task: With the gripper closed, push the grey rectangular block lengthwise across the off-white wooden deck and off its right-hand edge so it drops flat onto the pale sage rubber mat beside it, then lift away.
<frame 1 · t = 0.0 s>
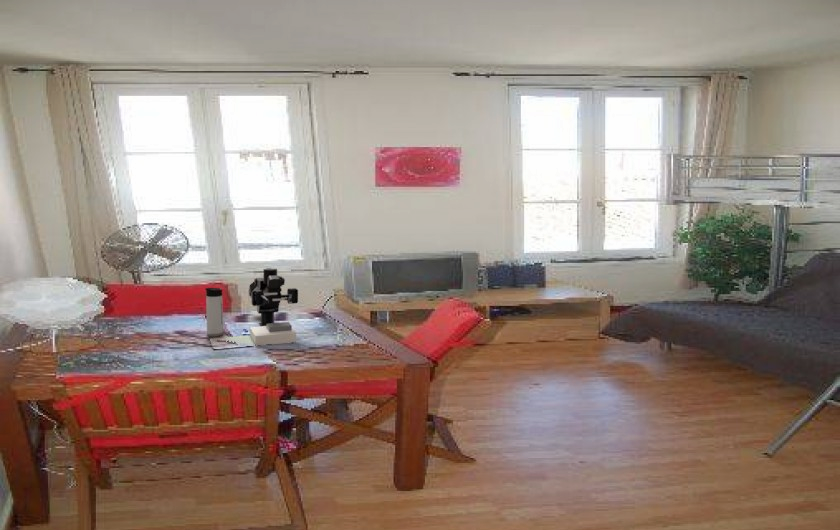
hand: (279, 301, 211), 17 cm above the table, tool horizontal, fingers open, 9 cm apart
mat: (231, 343, 208), on the table
grey rectangular block: (278, 329, 216), point 4 cm above the table, touching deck
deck: (272, 339, 215), on the table
travel mug: (214, 335, 219), on the table
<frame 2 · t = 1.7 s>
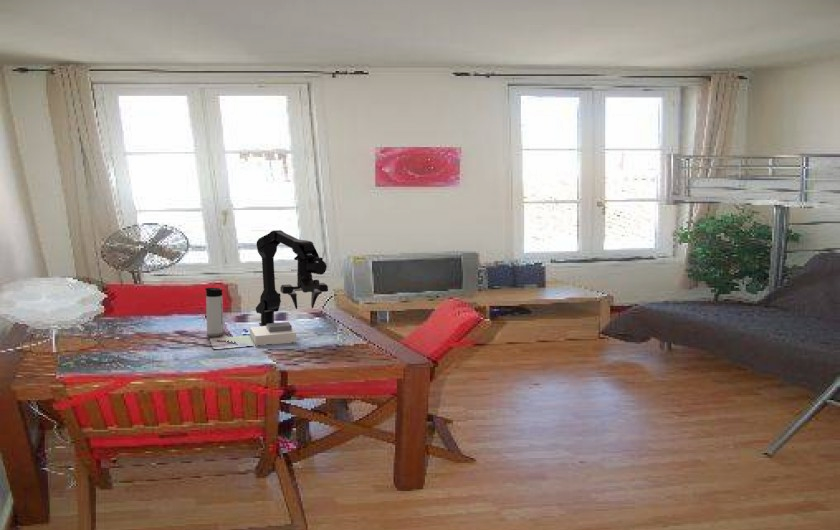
hand: (304, 308, 219), 12 cm above the table, tool pointing down, fingers open, 6 cm apart
nothing on the table moved.
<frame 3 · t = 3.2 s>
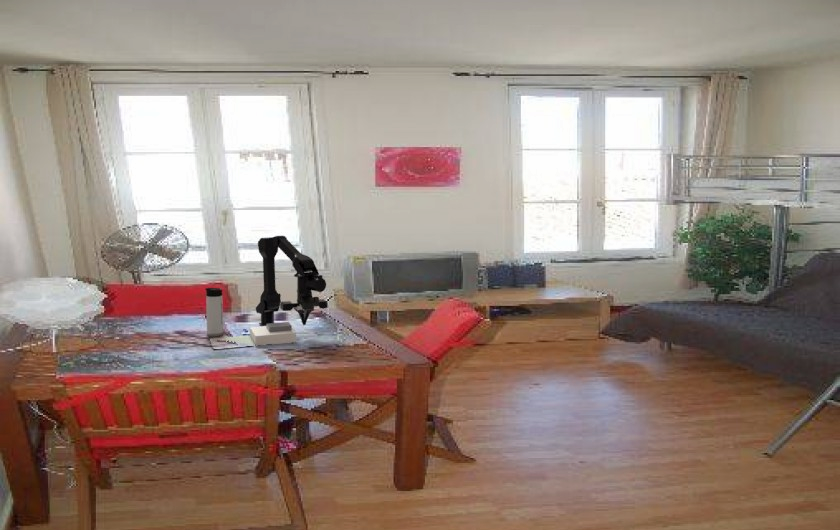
hand: (304, 324, 220), 5 cm above the table, tool pointing down, fingers closed
nothing on the table moved.
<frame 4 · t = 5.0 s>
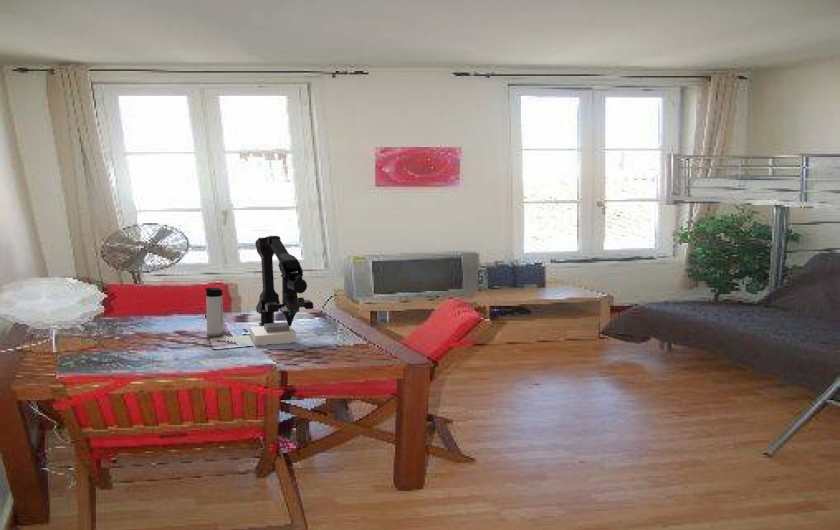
hand: (289, 326, 218), 5 cm above the table, tool pointing down, fingers closed
grey rectangular block: (276, 329, 215), point 4 cm above the table, touching gripper
everything else where it was.
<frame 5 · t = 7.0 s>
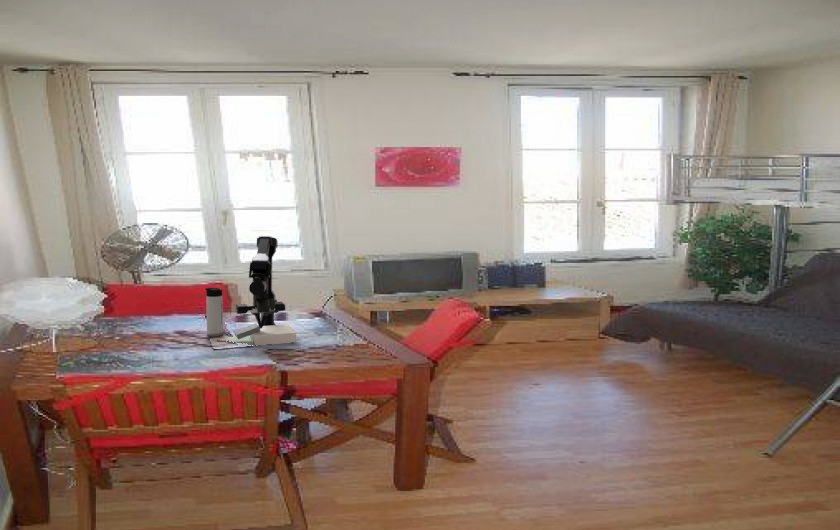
hand: (260, 328, 212), 5 cm above the table, tool pointing down, fingers closed
grey rectangular block: (247, 333, 210), point 3 cm above the table, tilted 16°, touching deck
everything else where it was.
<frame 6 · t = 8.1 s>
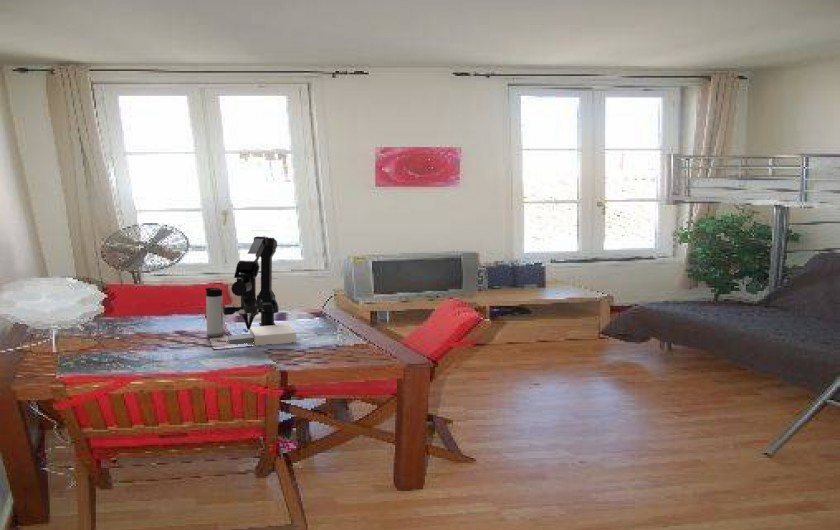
hand: (248, 329, 210), 5 cm above the table, tool pointing down, fingers closed
grey rectangular block: (240, 341, 209), resting on mat
everything else where it was.
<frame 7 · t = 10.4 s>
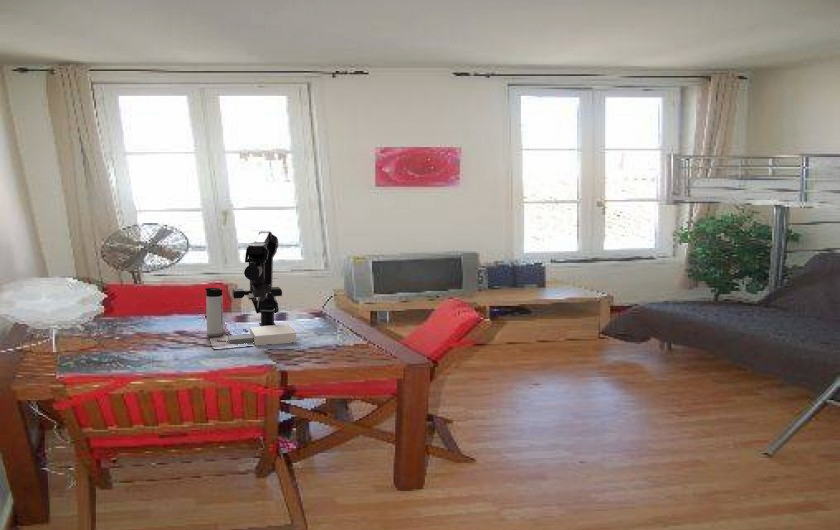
hand: (257, 313, 213), 11 cm above the table, tool pointing down, fingers closed
nothing on the table moved.
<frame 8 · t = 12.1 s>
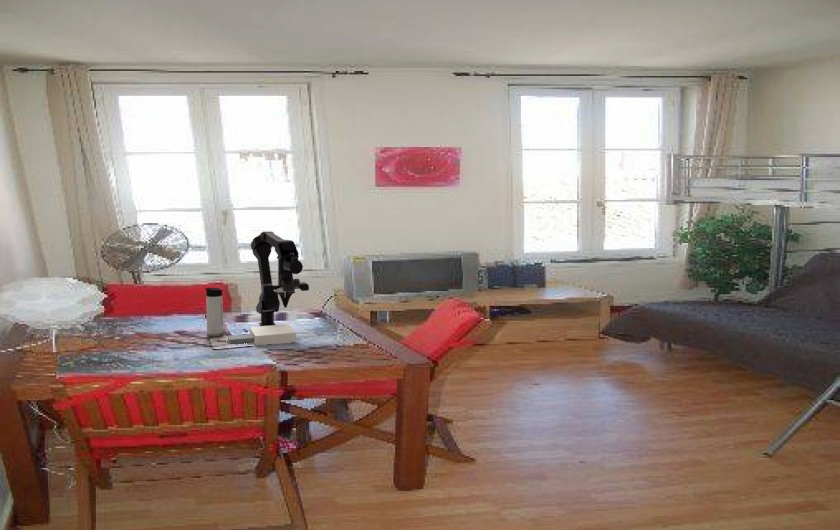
hand: (285, 307, 220), 12 cm above the table, tool pointing down, fingers closed
nothing on the table moved.
at the end: grey rectangular block resting on mat; grey rectangular block inside the target area (3.3 cm from its centre), resting on mat; grey rectangular block touching mat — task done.
